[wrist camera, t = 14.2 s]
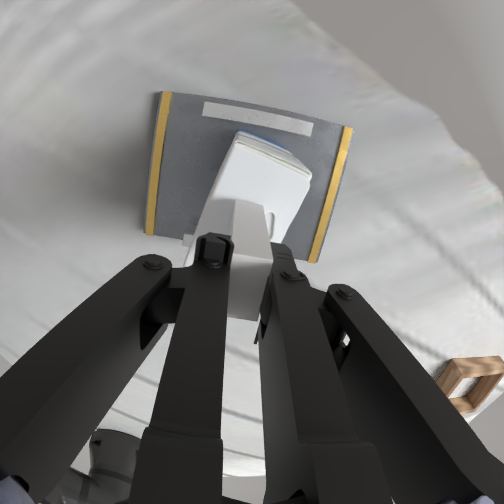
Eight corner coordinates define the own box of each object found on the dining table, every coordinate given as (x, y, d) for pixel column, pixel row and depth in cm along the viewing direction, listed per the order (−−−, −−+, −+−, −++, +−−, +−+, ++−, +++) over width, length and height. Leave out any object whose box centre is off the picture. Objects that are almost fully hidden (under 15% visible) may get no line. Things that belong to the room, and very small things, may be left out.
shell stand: (417, 405, 47) (424, 421, 43) (452, 358, 42) (462, 374, 38) (467, 398, 48) (474, 411, 45) (499, 355, 43) (508, 368, 40)
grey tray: (146, 229, 31) (136, 243, 28) (163, 91, 25) (152, 89, 22) (315, 258, 33) (322, 274, 30) (351, 128, 27) (364, 131, 24)
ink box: (238, 126, 26) (234, 135, 15) (288, 149, 27) (318, 174, 16) (202, 210, 29) (178, 270, 19) (249, 229, 30) (252, 297, 19)
